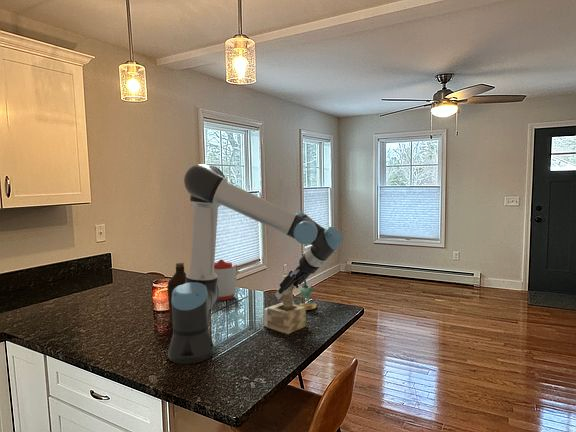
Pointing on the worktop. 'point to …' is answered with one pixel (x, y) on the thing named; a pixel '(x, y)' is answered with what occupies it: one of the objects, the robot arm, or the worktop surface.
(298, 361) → the worktop surface
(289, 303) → the dowel
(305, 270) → the robot arm
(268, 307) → the backstop
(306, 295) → the green yellow irregular piece
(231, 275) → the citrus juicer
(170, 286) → the olive oil
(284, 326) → the block
